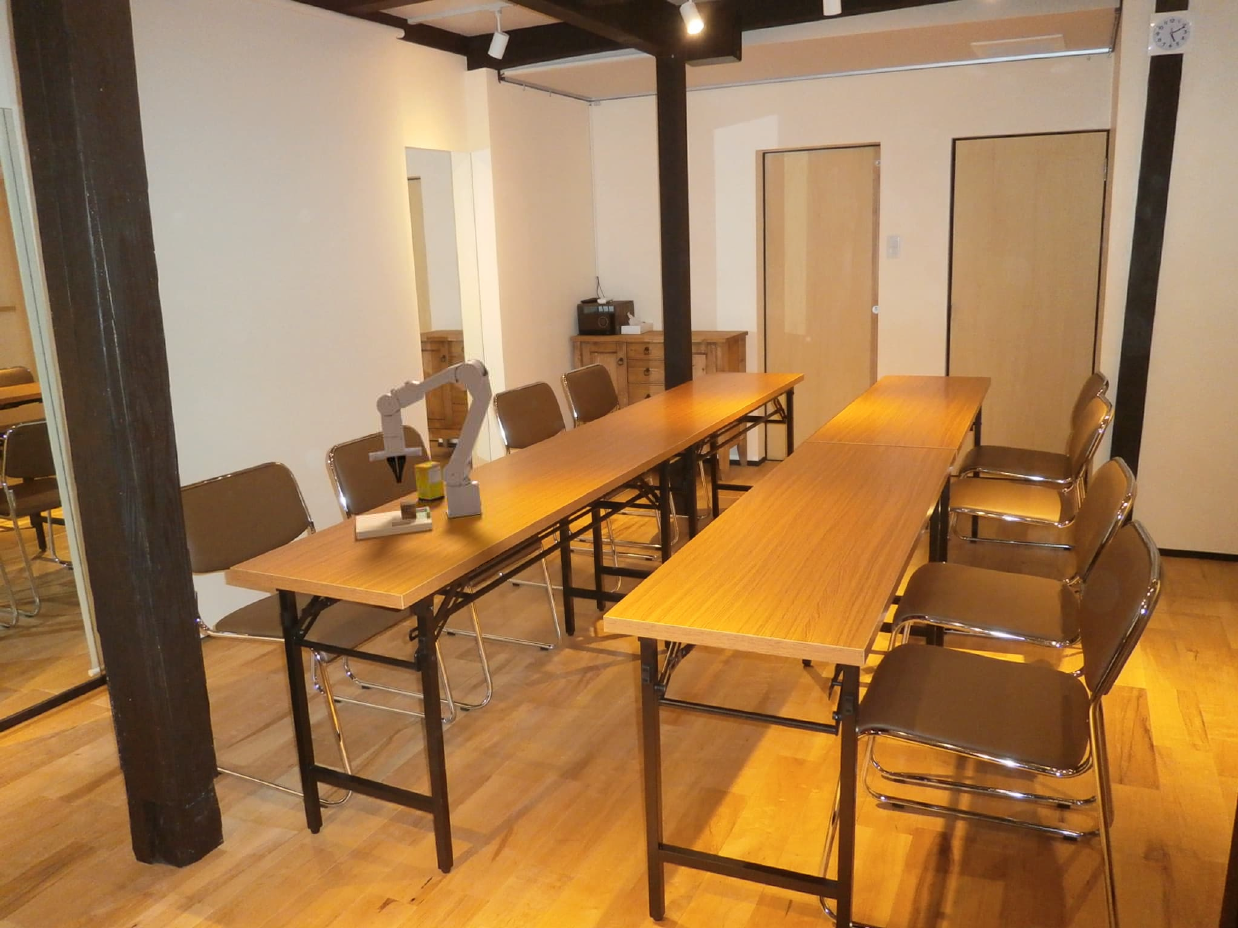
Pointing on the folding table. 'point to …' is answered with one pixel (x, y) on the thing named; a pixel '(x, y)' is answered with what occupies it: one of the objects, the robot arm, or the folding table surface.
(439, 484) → the supplement box
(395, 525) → the deck
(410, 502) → the block
